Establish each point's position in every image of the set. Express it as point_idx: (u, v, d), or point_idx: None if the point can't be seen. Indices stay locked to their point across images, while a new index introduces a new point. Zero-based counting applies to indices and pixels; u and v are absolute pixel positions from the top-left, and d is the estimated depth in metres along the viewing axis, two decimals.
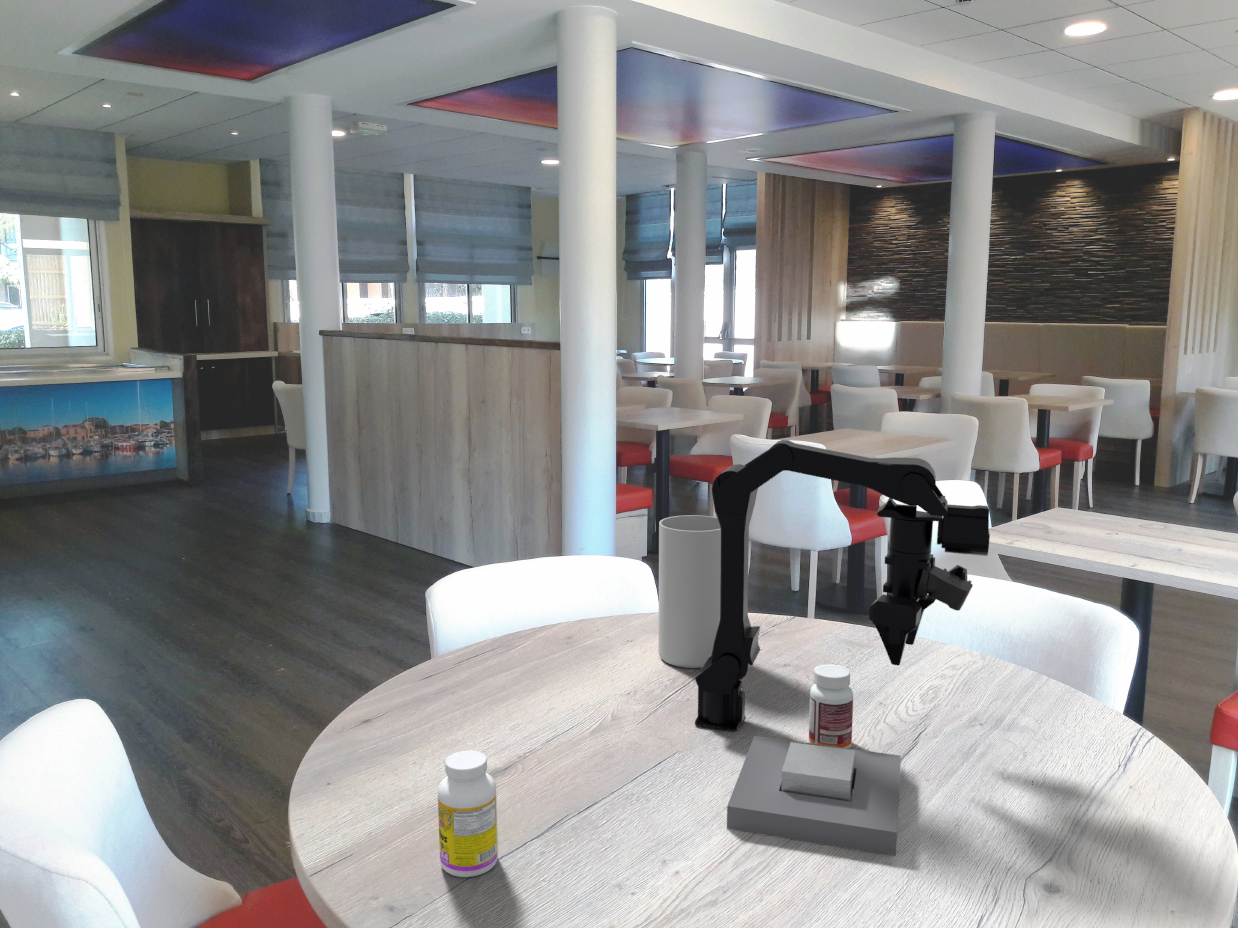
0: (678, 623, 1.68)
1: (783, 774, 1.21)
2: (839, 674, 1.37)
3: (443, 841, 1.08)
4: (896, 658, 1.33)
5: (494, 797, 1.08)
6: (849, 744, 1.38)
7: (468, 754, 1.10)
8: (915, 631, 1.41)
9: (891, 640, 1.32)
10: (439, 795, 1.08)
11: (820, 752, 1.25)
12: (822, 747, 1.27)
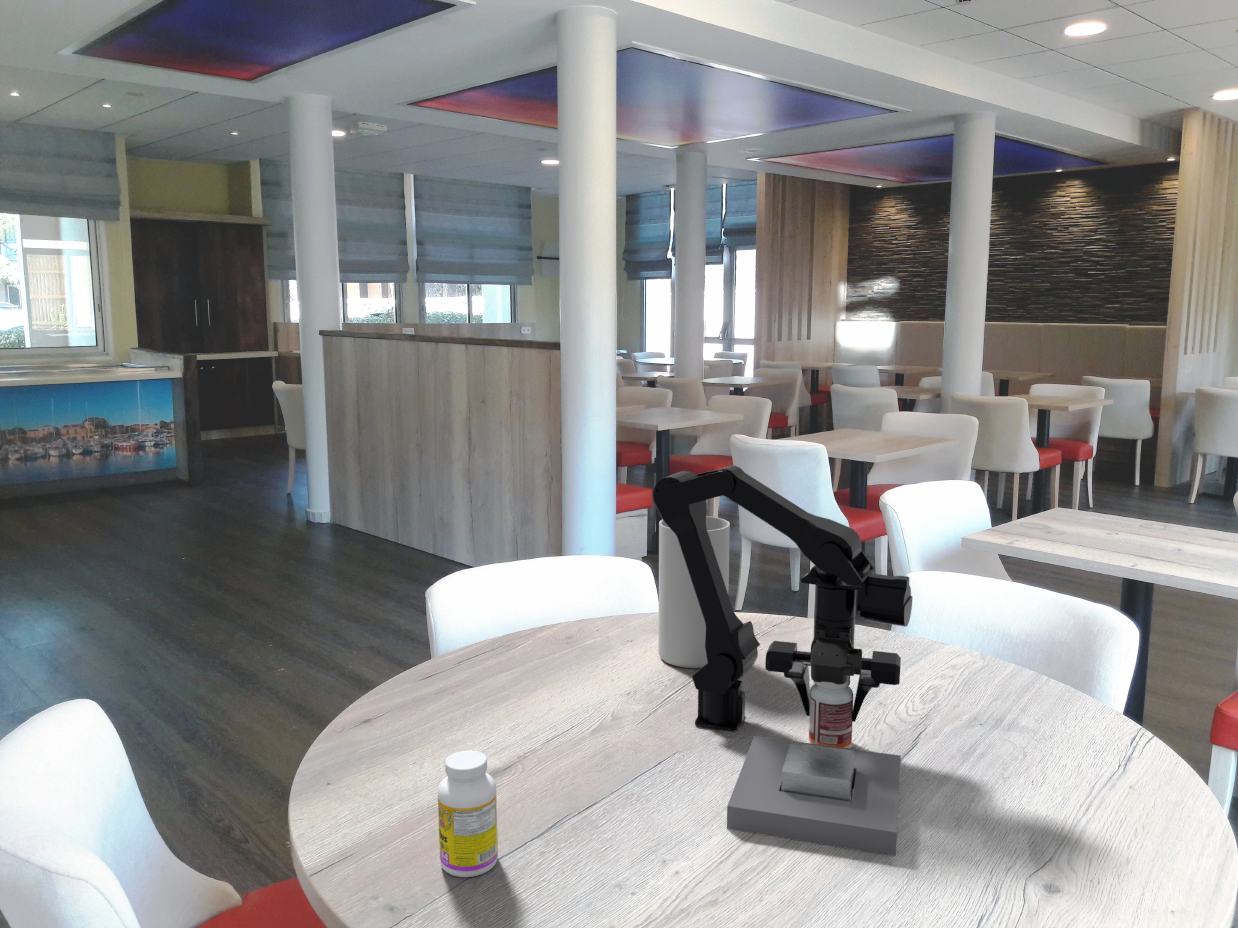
0: (678, 623, 1.68)
1: (783, 774, 1.21)
2: None
3: (443, 841, 1.08)
4: None
5: (494, 797, 1.08)
6: (849, 744, 1.38)
7: (468, 754, 1.10)
8: (853, 708, 1.38)
9: None
10: (439, 795, 1.08)
11: (820, 752, 1.25)
12: (822, 747, 1.27)
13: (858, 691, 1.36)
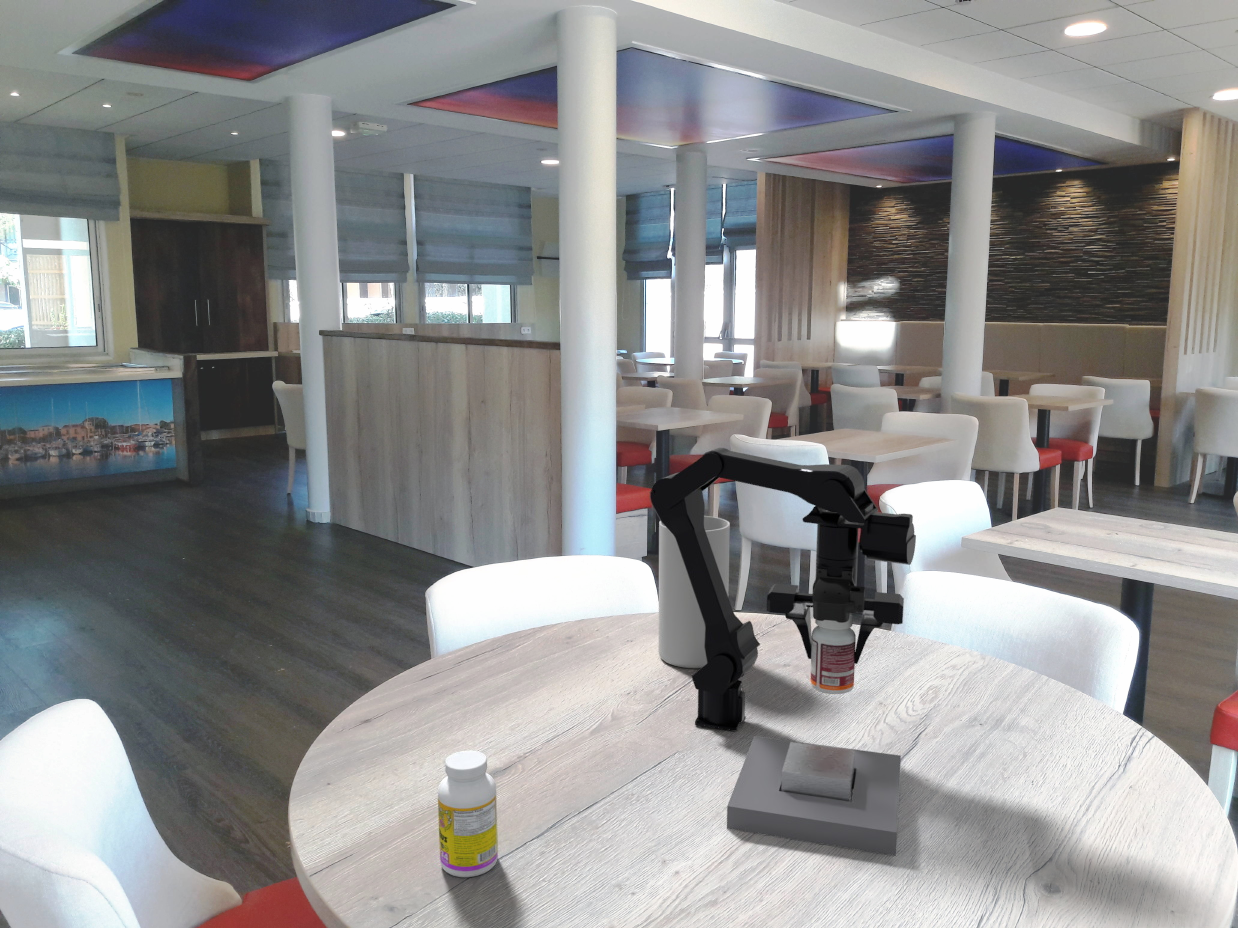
0: (678, 623, 1.68)
1: (783, 774, 1.21)
2: None
3: (443, 841, 1.08)
4: None
5: (494, 797, 1.08)
6: (851, 686, 1.37)
7: (468, 754, 1.10)
8: (855, 650, 1.36)
9: None
10: (439, 795, 1.08)
11: (820, 752, 1.25)
12: (822, 747, 1.27)
13: (860, 632, 1.34)
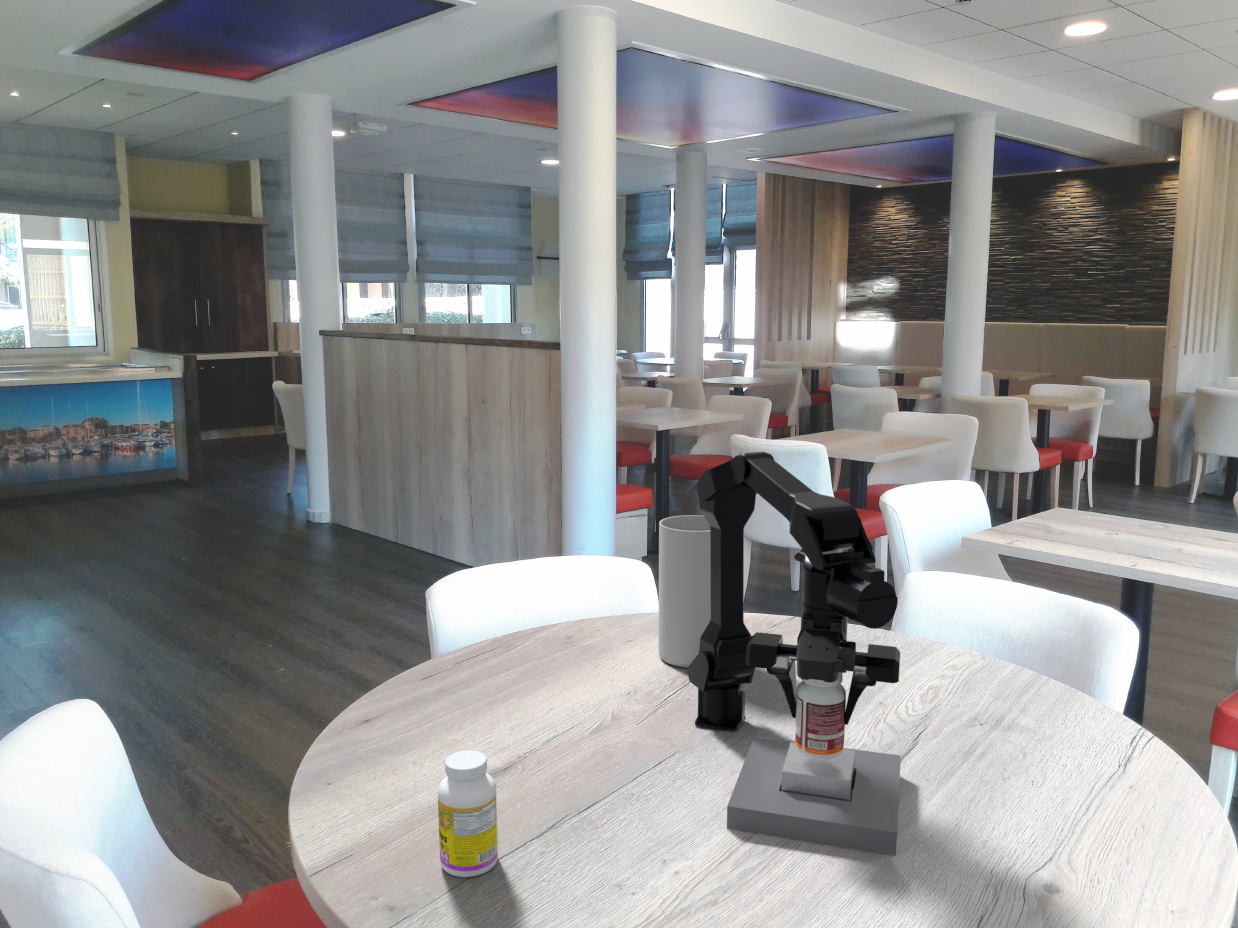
0: (678, 623, 1.68)
1: (783, 774, 1.21)
2: None
3: (443, 841, 1.08)
4: None
5: (494, 797, 1.08)
6: (841, 750, 1.21)
7: (468, 754, 1.10)
8: None
9: None
10: (439, 795, 1.07)
11: None
12: None
13: (851, 690, 1.19)
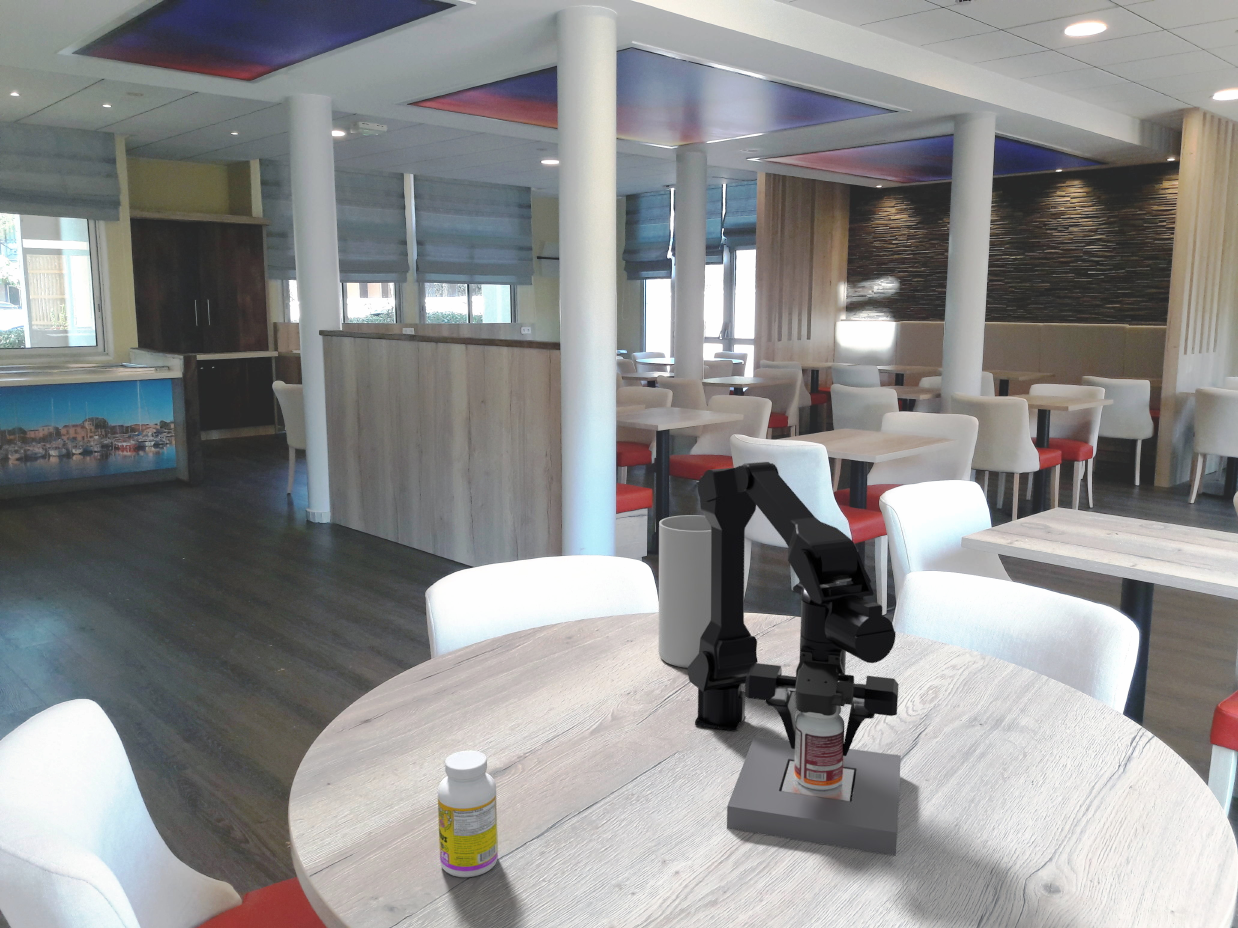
0: (678, 623, 1.68)
1: None
2: None
3: (443, 841, 1.08)
4: None
5: (494, 797, 1.08)
6: (840, 780, 1.22)
7: (468, 754, 1.10)
8: (844, 741, 1.21)
9: None
10: (439, 795, 1.08)
11: None
12: None
13: (850, 722, 1.20)
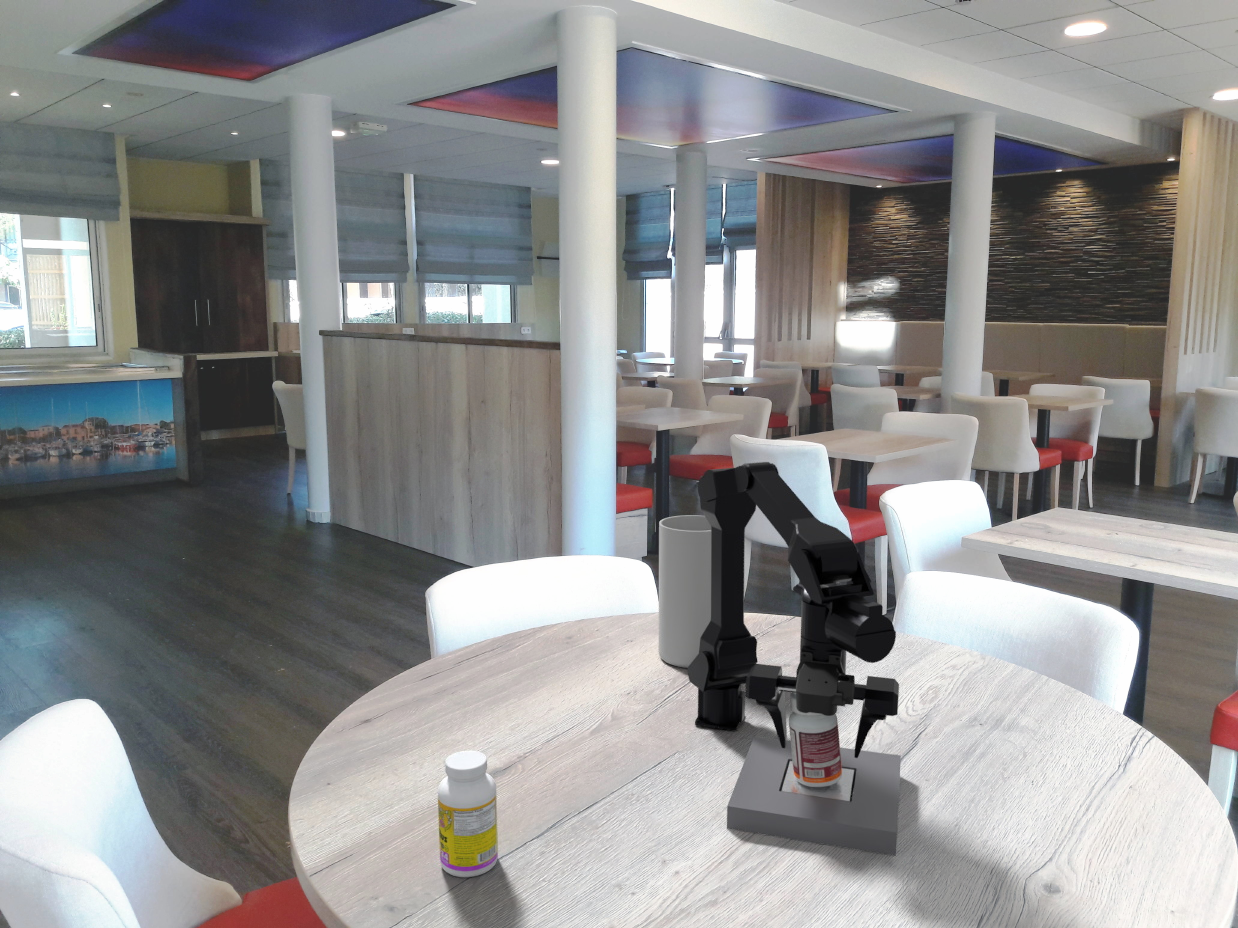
0: (678, 623, 1.68)
1: None
2: None
3: (443, 841, 1.08)
4: None
5: (494, 797, 1.08)
6: (839, 776, 1.22)
7: (468, 754, 1.10)
8: None
9: None
10: (439, 795, 1.07)
11: None
12: None
13: (861, 723, 1.19)
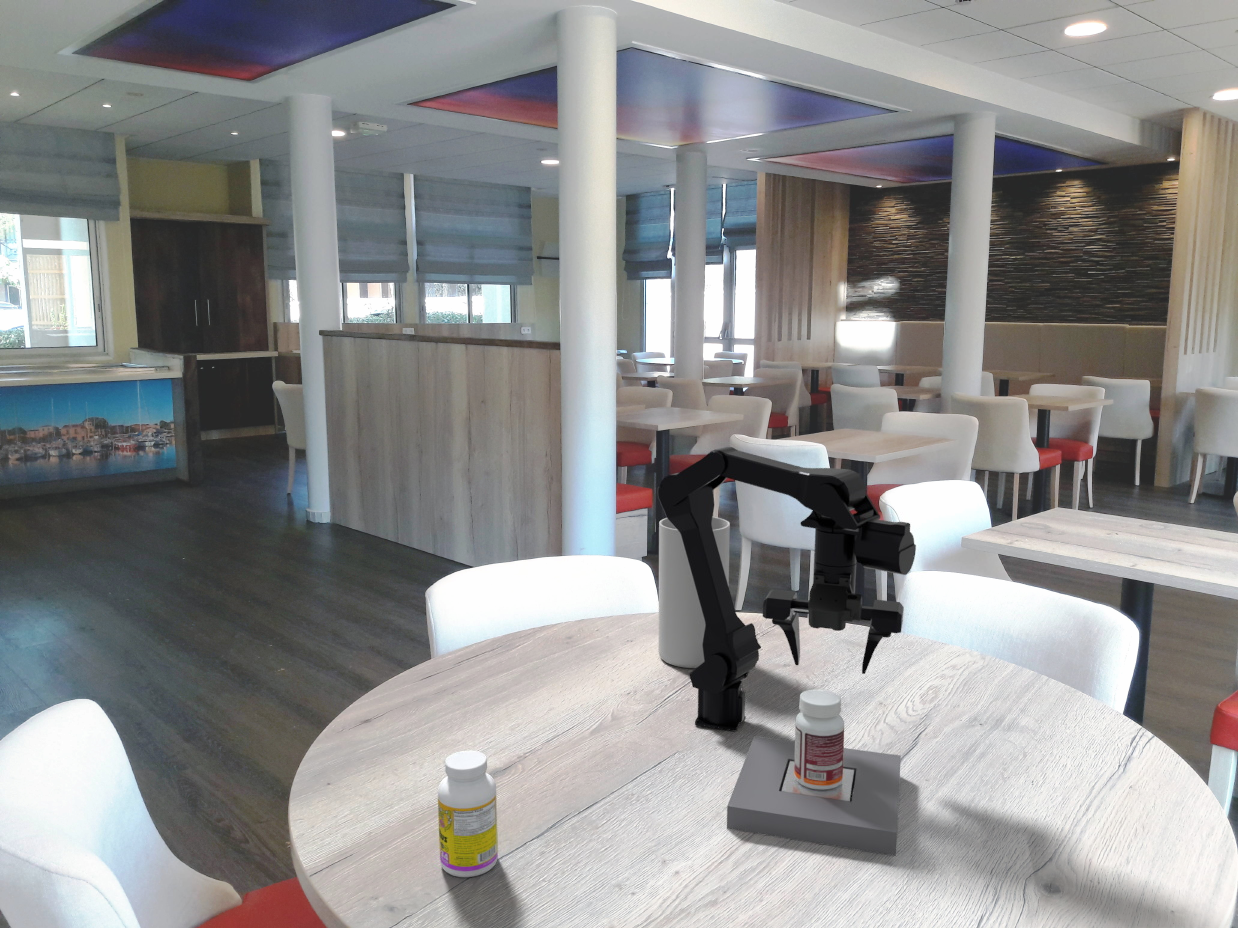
0: (678, 623, 1.68)
1: None
2: (828, 701, 1.21)
3: (443, 841, 1.08)
4: None
5: (494, 797, 1.08)
6: (840, 780, 1.22)
7: (468, 754, 1.10)
8: (863, 660, 1.32)
9: None
10: (439, 795, 1.08)
11: None
12: None
13: (868, 641, 1.31)
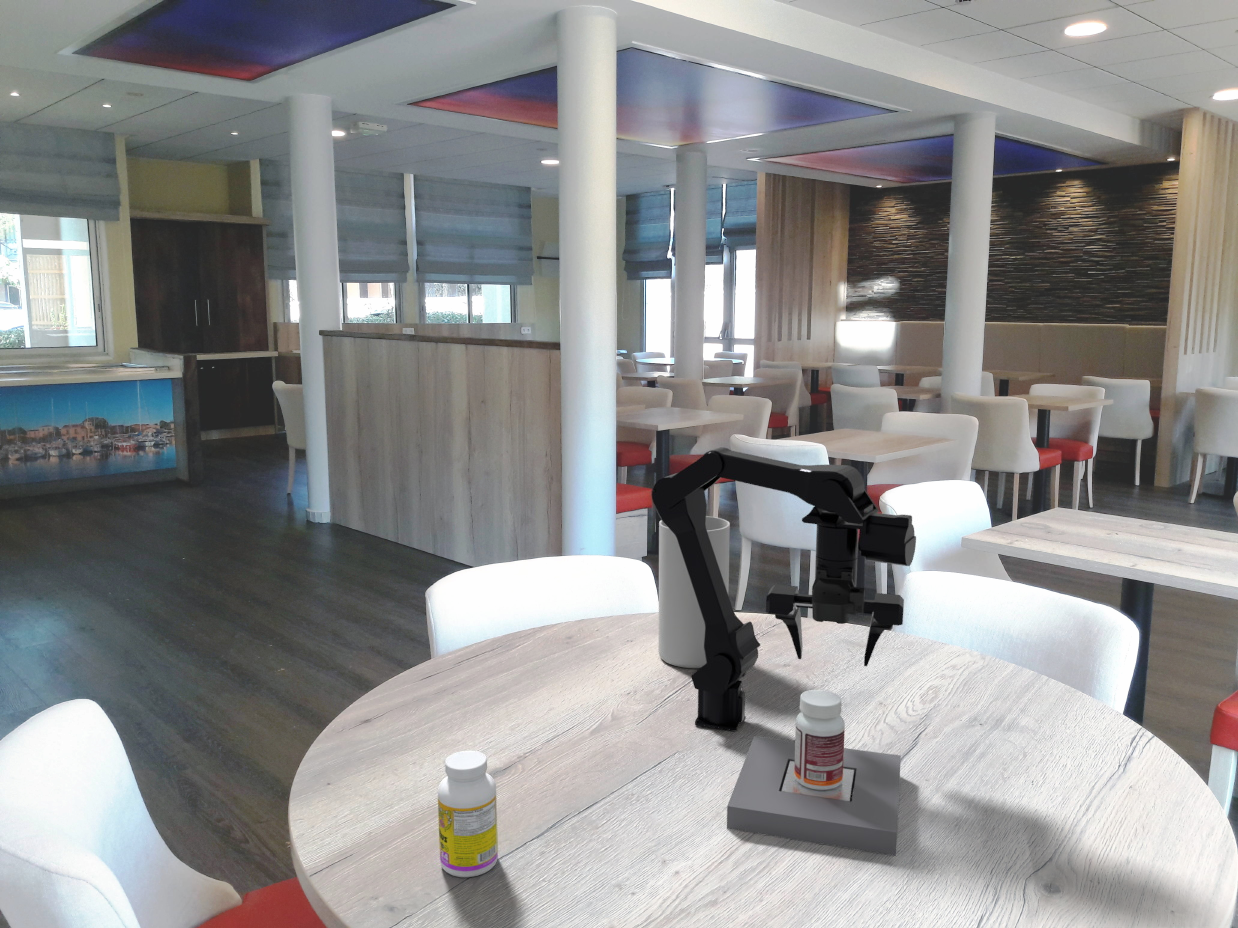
0: (678, 623, 1.68)
1: None
2: (828, 702, 1.20)
3: (443, 841, 1.08)
4: None
5: (494, 797, 1.08)
6: (840, 781, 1.22)
7: (468, 754, 1.10)
8: (865, 652, 1.35)
9: None
10: (439, 795, 1.07)
11: None
12: None
13: (870, 634, 1.33)
